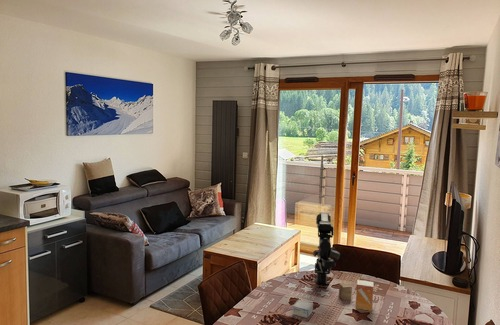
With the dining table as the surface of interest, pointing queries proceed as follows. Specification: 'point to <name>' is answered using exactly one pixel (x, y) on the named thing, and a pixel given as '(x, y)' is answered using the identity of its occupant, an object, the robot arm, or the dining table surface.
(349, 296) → the olive beige block
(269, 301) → the dining table surface
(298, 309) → the medicine box
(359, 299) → the small box
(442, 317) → the dining table surface
